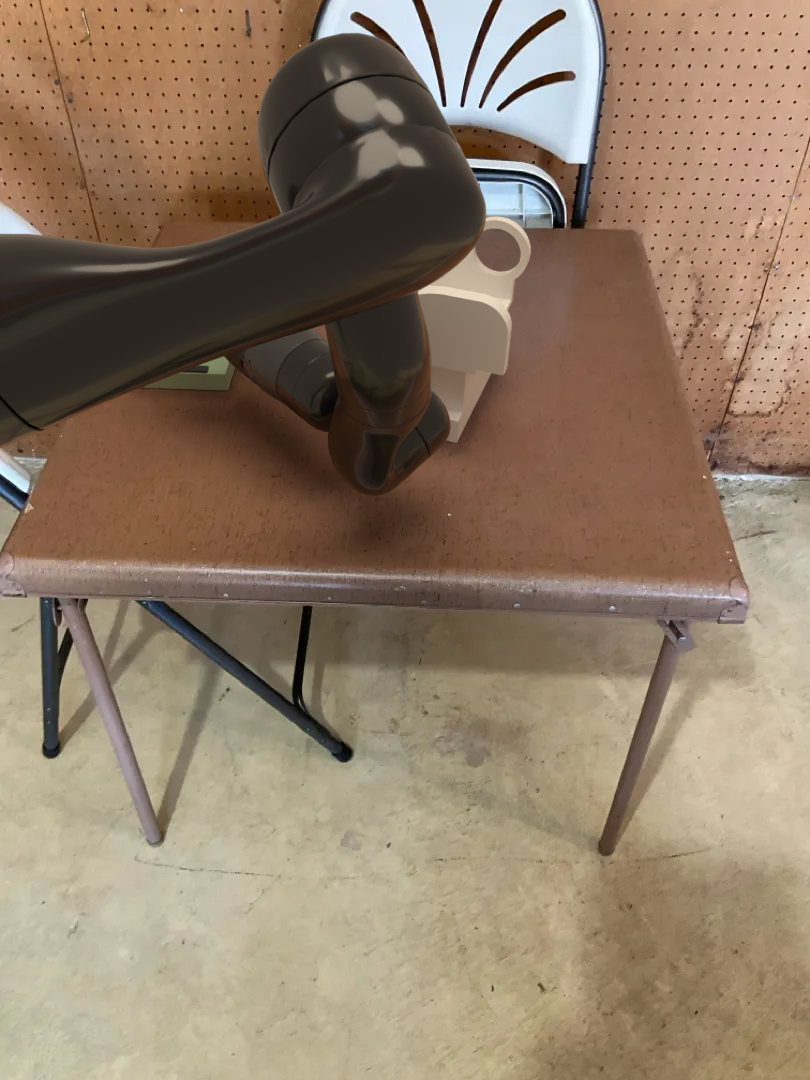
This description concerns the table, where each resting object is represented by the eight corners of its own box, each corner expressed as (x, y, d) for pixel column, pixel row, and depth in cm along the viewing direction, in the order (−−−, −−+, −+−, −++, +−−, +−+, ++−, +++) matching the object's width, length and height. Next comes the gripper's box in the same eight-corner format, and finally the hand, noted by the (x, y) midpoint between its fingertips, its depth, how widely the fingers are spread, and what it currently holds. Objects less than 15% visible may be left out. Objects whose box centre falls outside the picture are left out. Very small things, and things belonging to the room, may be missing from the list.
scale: (228, 390, 94) (224, 369, 92) (139, 387, 94) (133, 366, 92) (247, 331, 102) (244, 310, 100) (165, 328, 102) (160, 308, 100)
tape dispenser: (422, 354, 99) (425, 204, 86) (529, 376, 96) (549, 224, 83) (378, 425, 90) (374, 270, 76) (495, 453, 87) (511, 296, 73)
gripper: (337, 292, 80) (244, 230, 89) (208, 346, 74) (121, 275, 83) (341, 358, 86) (253, 294, 94) (221, 414, 80) (138, 340, 88)
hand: (192, 285), depth 89 cm, fingers open, 8 cm apart
